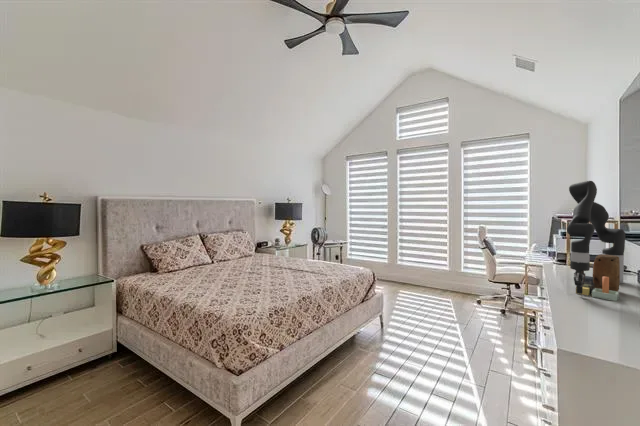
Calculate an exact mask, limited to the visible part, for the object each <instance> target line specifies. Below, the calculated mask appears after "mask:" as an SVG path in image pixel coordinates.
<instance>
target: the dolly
mask: <svg viewBox="0 0 640 426" xmlns="http://www.w3.org/2000/svg"><path fill="white" fill-rule="evenodd" d="M582 287H587V288H590V294H592V291H593V290H594V283H593V276H589V275H585V281H584V285H583V286H582Z"/></svg>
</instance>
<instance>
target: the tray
mask: <svg viewBox="0 0 640 426" xmlns="http://www.w3.org/2000/svg"><path fill="white" fill-rule="evenodd" d="M591 297H592V298H595V299H602V300H608V301H612V302H618V300H619V298H620V291H618V292H617V291H611V290H609V294H608V293H602V289H598V288H595V289H594V290H593V291H592V293H591Z"/></svg>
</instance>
